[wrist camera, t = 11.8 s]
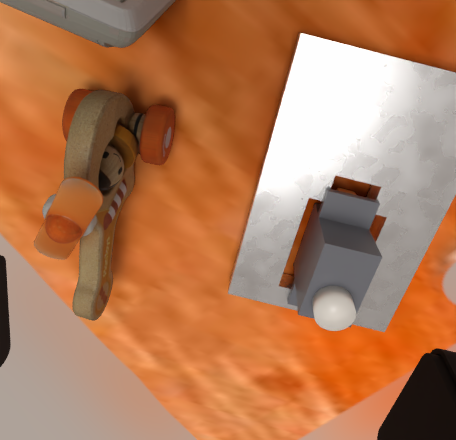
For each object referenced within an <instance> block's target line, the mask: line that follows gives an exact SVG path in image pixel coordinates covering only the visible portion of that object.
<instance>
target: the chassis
mask: <svg viewBox="0 0 456 440" xmlns="http://www.w3.org/2000/svg"><path fill="white" fill-rule="evenodd" d="M335 175H336V176H340V177H344V178H348V179H352V180H356V181H360V182H364V183H368V184H372V185H371V187H370V190H369V192H368V195H367V197H366V198H370V199H374V200H378V201H379V203H380V205H379V208H378V210H377V212H376V217H375V219H374V222H373V224H372V226H371V228H370V232H371V234H372V236H373V239H374V241H375V243H376V245H377V247H378V249H379V251H380V253H381V255H382V259H381V262H380V264H379V266H378V268H377V270H376V273H375V275H374V277H373V279H372V281H371V283H370V286H369V288H368V290H367V292H366V294H365V297H364V299H363V301H362V303H361V305H360V308H359V310H358V312H357V314H356V318H355V320H354V322H353V323H352V324H354V325H358V326H362V327H366V328H370V329H374V330H378V331H382V332H385V330H386V328H387V326H388V324H389V322H390V321H391V319H392V317H393V315H394V313H395V311H396V309H397V307H398V305H399V303H400V301H401V299H402V297H403V295H404V293H405V291H406V290H407V288H408V286H409V284H410V282H411V280H412V278H413V276H414V274H415V272H416V270H417V268H418V266H419V264H420V262H421V260H422V259H423V257H424V255H425V253H426V251H427V249H428V247H429V245H430V243H431V241H432V239H433V237H434V235H435V233H436V231H437V229H438V227H439V226H440V224H441V222H442V220H443V218H444V216H445V214H446V212H447V210H448V208H449V206H450V204H451V202H452V200H453V198H454V196H455V195H456V73H455V72H451V71H447V70H443V69H439V68H436V67H432V66H428V65H424V64H420V63H416V62H412V61H408V60H404V59H400V58H397V57H393V56H389V55H385V54H381V53H377V52H373V51H369V50H365V49H361V48H358V47H354V46H350V45H346V44H342V43H338V42H334V41H330V40H326V39H322V38H319V37H315V36H311V35H307V34H303V33H299V34H298V38H297V41H296V45H295V49H294V52H293V56H292V59H291V63H290V66H289V70H288V74H287V77H286V81H285V84H284V88H283V92H282V95H281V99H280V102H279V106H278V110H277V113H276V117H275V120H274V124H273V127H272V131H271V135H270V138H269V142H268V145H267V149H266V153H265V156H264V160H263V163H262V167H261V170H260V174H259V178H258V181H257V185H256V188H255V192H254V196H253V199H252V203H251V206H250V210H249V213H248V217H247V221H246V224H245V228H244V231H243V235H242V239H241V242H240V246H239V249H238V253H237V257H236V260H235V264H234V267H233V271H232V274H231V278H230V283H229V290H228V294H232V295H236V296H240V297H244V298H248V299H252V300H256V301H260V302H264V303H269V304H273V305H277V306H281V307H285V308H289V309H293V310H297V311H298V308H297V306H294V305H290V304H288V302H287V299H288V296H289V293H290V291H291V288H292V285H293V282H294V279H295V277H294V276H292V275H288V274H284V273H283V271H284V268H285V266H286V263H287V260H288V257H289V254H290V251H291V248H292V245H293V242H294V239H295V237H296V234H297V231H298V228H299V225H300V222H301V219H302V216H303V213H304V210H305V208H306V205H307V202H308V199H309V198H312V199H316V200H320V201H323V198H324V195H325V192H326V189H327V188H329V189H331V186H332V183H333V181H334V178H335Z"/></svg>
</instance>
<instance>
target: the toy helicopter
mask: <svg viewBox="0 0 456 440" xmlns="http://www.w3.org/2000/svg"><path fill="white" fill-rule="evenodd" d="M62 126H63V133H64V137H65V139H66V141H67V144H66V151H65V159H64V180H63V181H62V183H61V185H60V187H59V189H58V191H57V194H54V195H52V196H50V197H49V198H48V200H47V201H46V203H45V204H44V207H43V215H44V218H45V221H44V223H43V225H42V227H41V229H40V231H39V233H38V235H37V237H36V239H35V241H34V246H35V248H36V249H37V250H38V251H39V252H40V253H42V254H44V255H46V256H48V257H50V258H54V259H67V258H68V257H69V255H70V254H71V252H72V251H73V249H74V247H75V246H76V244H77V243H78V241H79V240H80V255H79V279H78V283H77V287H76V290H75V293H74V297H73V311H74V313H75V314H76V315H77V316H80V317H83V318H86V319H89V320H97V319H98V318H99V317H100V316H101V314H102V313H103V311H104V309H105V307H106V305H107V302H108V300H109V296H110V293H111V289H112V283H113V275H112V271H111V259H112V251H113V241H114V233H115V226H116V221H117V218H118V215H119V213H120V211H121V208H122V206H123V203H124V201H125V199H126V198H127V197H128V196H129V195H130V194H131V192H132V190H133V186H134V182H135V176H134V161H135V159H136V157H137V155H138V153H139V154H140V155H141V158H142V160H143V161H144V162H146V163H151V164H155V165H163V164H164V163H165V162H166V160H167V158H168V155H169V152H170V149H171V145H172V141H173V136H174V127H175V115H174V111H173V110H172V109H171V108H169V107H165V106H160V105H152V106H150V107H149V109H148V110H147V113H146V115H145V114H143V113H135V112H134V109H133V105H132V103H131V101H130V100H129V98H128V97H127V96H125V95H124V94H122V93H117V92H112V91H106V90H96V91H90V90H86V89H77V90H75V91H73V92H72V94H71V95H70V96H69V98H68V100H67V102H66V105H65V109H64V113H63V119H62Z"/></svg>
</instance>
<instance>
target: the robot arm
mask: <svg viewBox="0 0 456 440" xmlns="http://www.w3.org/2000/svg"><path fill="white" fill-rule="evenodd" d="M6 276H7V274H6V260H5V258H4V256H1V255H0V367H1V366H2V364H3V363H4V361H5V360H6V358H7V356H8V354H9V350H10V328H9V310H8V293H7V277H6ZM377 440H456V352H451V351H447V350H443V349H434V350H432V352H431V353H426V354H424V355H423V356H422V358H421V359H420V361H419V363H418V364H417V366H416V368H415V370H414V371H413V373H412V375H411V376H410V378H409V380H408V381H407V383H406V385H405V386H404V388H403V390H402V392H401V393H400V395H399V397H398V398H397V400H396V402H395V404H394V405H393V407H392V408H391V410H390V412H389V414H388V415H387V417H386V419H385V420H384V422H383V424H382V426H381V427H380V429H379V431H378V437H377Z"/></svg>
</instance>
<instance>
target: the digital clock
mask: <svg viewBox="0 0 456 440" xmlns="http://www.w3.org/2000/svg"><path fill="white" fill-rule="evenodd" d="M175 1H176V0H0V2H1V3H4V4H6V5H8V6H11V7H13V8H15V9H18V10H20V11H22V12H25V13H27V14H29V15H32V16H34V17H36V18H39V19H41V20H43V21H46V22H48V23H50V24H53V25H55V26H57V27H60V28H62V29H64V30H67V31H69V32H71V33H74V34H76V35H78V36H81V37H83V38H85V39H88V40H90V41H92V42H95V43H97V44H100V45H102V46H104V47H114V46H115V47H120V48H123V47H127V46H129V45H131V44H133V43H134V42H135V41H136V40H137V39H138V38H140V37H141V36H142V35H143V34H144V33H145V32H146V31H147V30H148V29H149V28H150V27H151V26H152V25H153V24H154V23H155V21H156V20H157V19H158V18H159V17H160V16H161V15H162V14H163V13H164V12H165V11H166V10H167V9H168V8H169V7H170V6H171V5H172V4H173V3H174V2H175Z"/></svg>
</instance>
